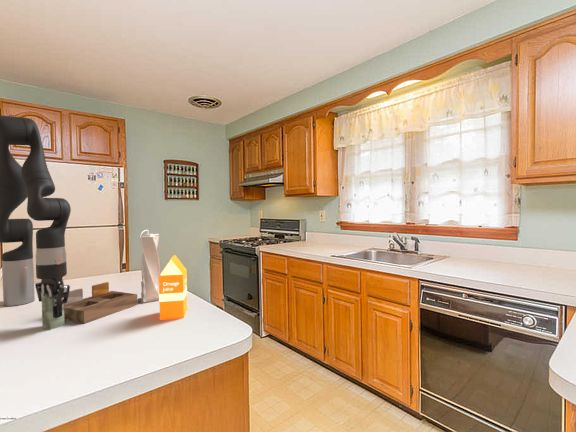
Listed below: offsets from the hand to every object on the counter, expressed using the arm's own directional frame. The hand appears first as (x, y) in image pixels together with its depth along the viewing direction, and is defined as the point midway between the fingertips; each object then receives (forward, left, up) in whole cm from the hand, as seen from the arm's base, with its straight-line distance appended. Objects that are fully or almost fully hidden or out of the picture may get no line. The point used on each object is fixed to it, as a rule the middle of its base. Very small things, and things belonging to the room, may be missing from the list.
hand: (53, 315), depth 94 cm
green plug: (0, 0, -3) cm, 3 cm away
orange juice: (+28, +22, -4) cm, 36 cm away
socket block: (0, +15, -3) cm, 15 cm away
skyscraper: (+6, +32, -3) cm, 33 cm away
